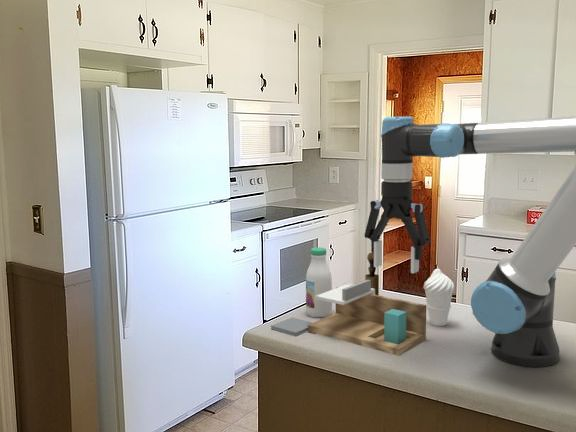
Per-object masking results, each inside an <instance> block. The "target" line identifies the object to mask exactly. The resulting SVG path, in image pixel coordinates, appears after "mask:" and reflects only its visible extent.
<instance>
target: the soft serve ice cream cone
mask: <svg viewBox="0 0 576 432" xmlns="http://www.w3.org/2000/svg"><path fill="white" fill-rule="evenodd" d="M423 284H424V285H423V286H422V287H423V289H424V291H425V292H424V293H425V300H426V302H425V303H426V304H425V305H426V310H427V314H428V319H429V324H430V325H432V326H434V327H435V326H436V327H444V326H446V325H447V322H448V318H449V313H450V310H451V307H452V305H451V302H452V297H453V291H454V290H455V283H454V282H453V280H451V278H449V277H448V276H447V275H446V274H445V273H444V272H442V270H441V269H440V268H435V269H434V270H433V271H432V273H431V275H430V276H429V277H428V278H427V280H425V281H424V283H423Z"/></svg>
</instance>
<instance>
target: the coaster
mask: <svg viewBox="0 0 576 432" xmlns="http://www.w3.org/2000/svg"><path fill="white" fill-rule="evenodd" d="M311 323H313V321H308V320H305V319H304V320H303V319H300V318H297V317H293V316H292V317H289V318H287V319H284V320H281V321H278V322H277V323H274V324H272V325H270V328H271V330H274V331H277V332H280V333H284V334H287V335H291V336H294V337H298V336H301V335H302V334H304V333H306V332H308V325H309V324H311Z"/></svg>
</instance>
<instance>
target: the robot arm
mask: <svg viewBox="0 0 576 432" xmlns="http://www.w3.org/2000/svg"><path fill="white" fill-rule="evenodd" d="M381 122H382V124H381V134H380V137H381V165H380V166H381V167H380V168H381V171H380V172H381V179H382V180H383V181H382V182H380V183H381V184H380V185H381V186H380V188H381V189H380V191H381V200H378V199H376V200H371V201H370V205H369V206H370V212H369V215H368V220H367V222H366V223H367V224H366V227H365V232H364V238H365V239H369V240H370V241H371V242H370V243H371V244H370V245H371V247H370V248H371V249H370V251H371V252H370V253H374V267H376V268H378V267H381V266H383V240H381V239H382V238H381V236H382V235H383V233H384V231H385V229H386V228H387V225H388V223H389V222H390V220H391V219H399V220H400V221H401V222H402V223H403V224H404V227H405V229H406V231H407V233H408V236H409V237H410V239H411V242H412V243H413V245H412V246H411V247H410V273H411V274H416V273H418V272H419V271H420V260H422V258H423V247H424V246H425V245H426V246H427V245H428V244H430V243H431V239H430V234H429V230H428V225H427V222H426V217H425V214H424V213H425V212H424V211H425V205H424V203H414V202H413V198H412V197H413V182H412V181H411V180H412V179H413V171H414V170H413V165H414V164H413V163H414V162H413V161H414V159H413V158H414V157H427V158H428V157H429V158H442V159H445V158H454V157H458V156H459V155H478V154H479V155H481V154H482V155H483V154H517V153H518V154H524V153H526V154H528V153H531V154H533V153H563V152H564V153H571V152H574V158H575V159H576V116H564V117H563V116H561V117H546V118H531V119H516V120H514V119H513V120H501V121H499V120H498V121H485V122H469V123H465V122H464V123H430V124H428V123H427V124H415V123H414V118H413V116H387V117H384V118H383V119H382V121H381ZM381 208H382V210H383V211H382V213H381V216H380V219H379V215H380V211H381V210H380V209H381ZM411 210H412V212H413V213H414V219H415V222H414V219H413V216H412V213H411ZM378 219H379V221H378ZM377 222H378V223H377ZM415 223H416V224H415ZM575 246H576V164H575V165H574V167H573V168H572V169H571V171H570V172H569V174H568V176H567V177H565V180H564V181H563V183H562V184H561V186H560V187H559V188H558V190H557V191H556V193H555V194H554V196H553V197H552V199H551V200H550V201H549V203H548V204H547V206H546V207H545V208H544V210H543V211H542V212H541V215H540V216H539V218H538V219H537V220H536V222H535V223H534V224H533V226H532V228H531V229H530V230H529V232H528V233H527V234H526V236H525V238H524V239H522V242H521V243H520V245H519V246H518V247H517V249H516V250H515V252H514V253H513V255H512V256H511V257H509V258H507V257H506V258H502V259H501V260H500V261H499V262H498V263H497V265H496V266H495V268H494V270H492V272H491V274H489V276H488V278H487V279H486V280H485V281H484V282H481V283H480V284H478V285H477V286H476V287H475V289H474V290H473V292H472V294H471V298H470V307H471V310H472V314H473V315H474V318H475V319H476V321H477V322H478V323H479V324H480V325H481V326H482V327H483V328H485V329H486V330H487V331H489V332H491V333H494V335H493V337H492V340H491V350H490V351H491V353H492V355H493V356H494V357H496V358H497V359H499V360H501V361H503V362H506V363H509V364H513V365H517V366H523V367H532V368H534V367H535V368H542V367H548V366H549V367H550V366H552V365H553V366H554V365H555V364H557V363H558V362H559V361H560V352H561V351H560V347H559V344H558V340H557V337H556V333H555V329H554V326H553V325H554V309H555V294H556V293H555V292H556V291H555V290H556V282H557V281H556V280H557V277H556V271H557V270H558V269H559V267H560V266H561V265H562V263H563V262H564V261H565V260H566V258H568V257H567V256H569V254H570V253H571V251H572V250H573V249H574V248H575Z"/></svg>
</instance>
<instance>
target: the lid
mask: <svg viewBox="0 0 576 432" xmlns="http://www.w3.org/2000/svg"><path fill="white" fill-rule="evenodd" d="M337 287H338V288H337ZM337 287H335V288H333V289H332V290H330V291H327V292H325V293H322V294H319V295H317V296H316V299H319V300H323V301H328V302H332V304H333V303H334V304H336V303H337V304H341V305H345V304H347V303H349V302H352V301H354V300H357V299H359V298H361V297H364V296H366V295H369V294H375V289H373V288H371V280H365V279H364V280H363V281H360V282H358V283H355V284H352V283H347V284H344V285H341V286H337Z"/></svg>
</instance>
